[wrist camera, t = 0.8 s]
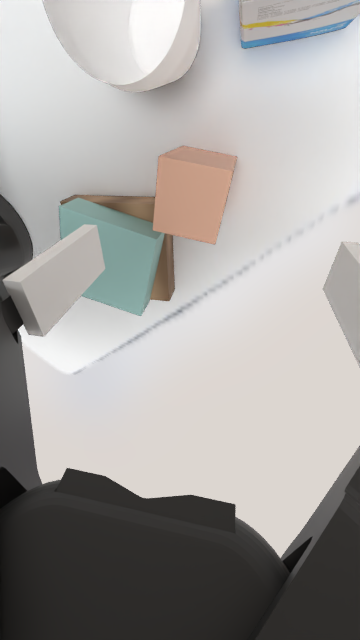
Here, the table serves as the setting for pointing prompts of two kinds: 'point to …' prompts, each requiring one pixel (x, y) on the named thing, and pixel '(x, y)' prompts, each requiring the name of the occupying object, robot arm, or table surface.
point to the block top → (118, 253)
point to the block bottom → (145, 211)
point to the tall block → (192, 192)
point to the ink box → (292, 19)
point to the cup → (129, 39)
